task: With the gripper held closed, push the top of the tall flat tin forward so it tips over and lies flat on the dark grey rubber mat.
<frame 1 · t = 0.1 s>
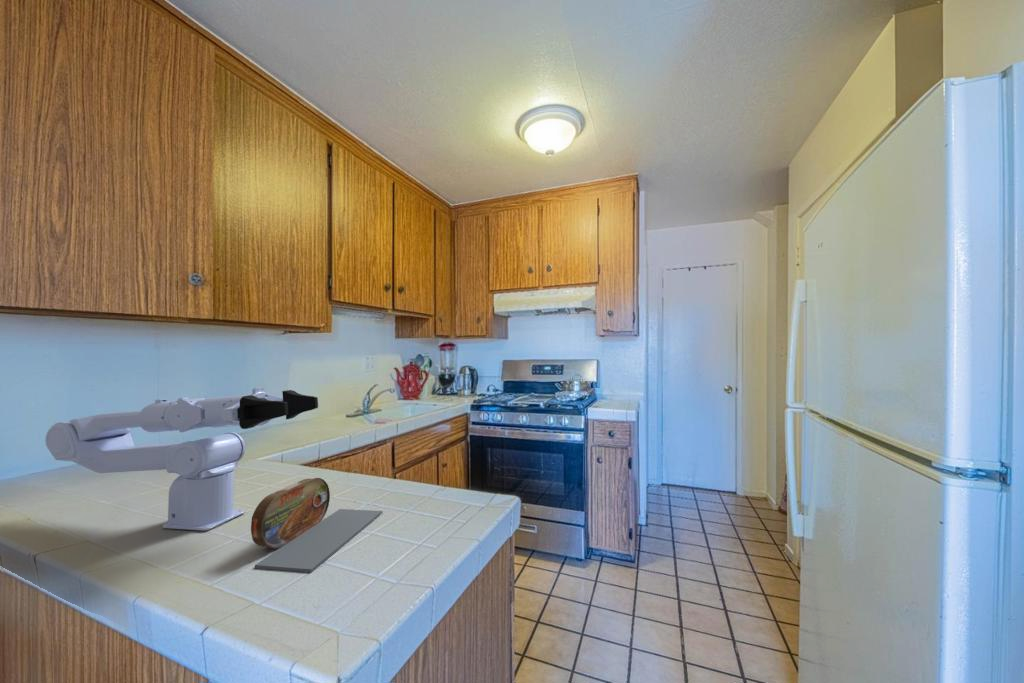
hand: (302, 405, 67), 22 cm above the table, tool horizontal, fingers open, 7 cm apart
tin: (293, 536, 63), on the table
rubber mat: (328, 536, 62), on the table
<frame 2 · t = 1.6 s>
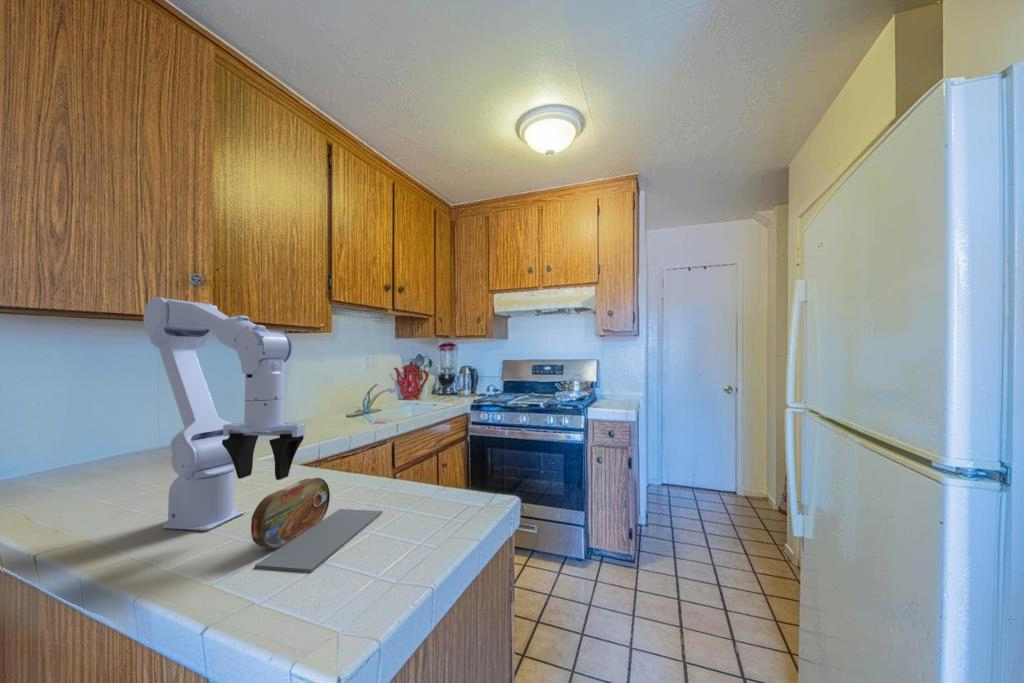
hand: (263, 477, 64), 9 cm above the table, tool pointing down, fingers open, 7 cm apart
nothing on the table moved.
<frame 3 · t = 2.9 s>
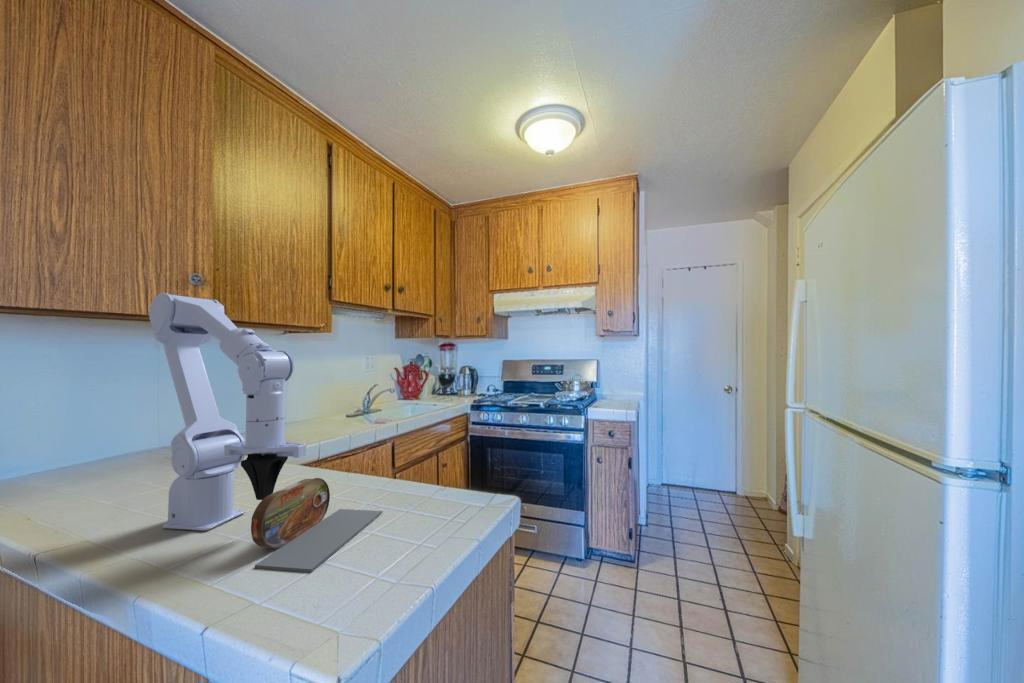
hand: (264, 497, 64), 6 cm above the table, tool pointing down, fingers closed
nothing on the table moved.
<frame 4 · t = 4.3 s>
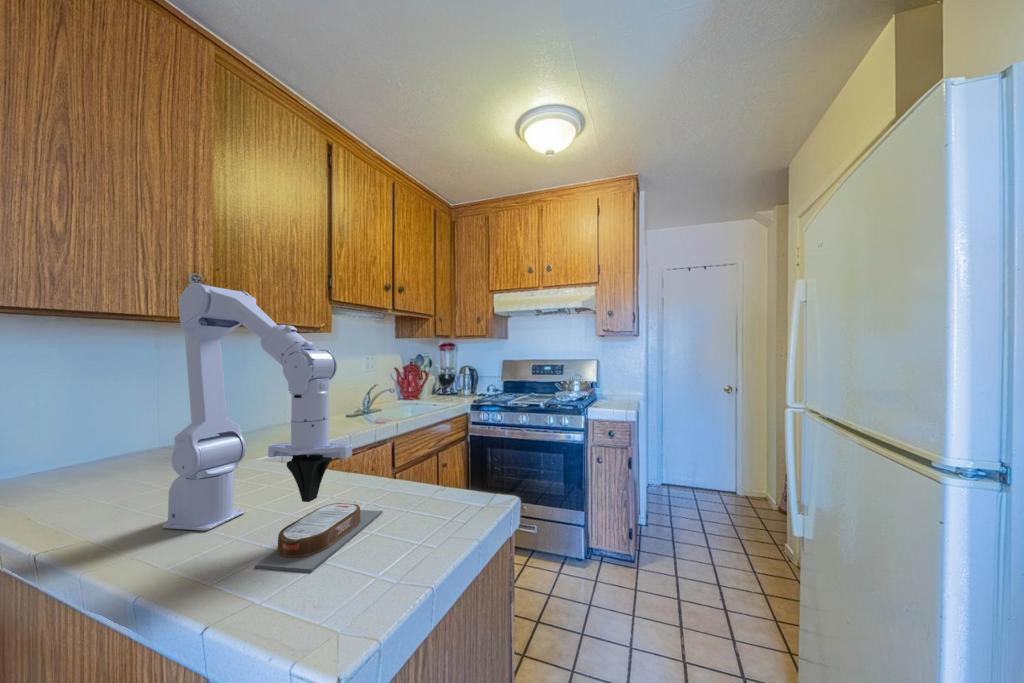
hand: (309, 499, 63), 6 cm above the table, tool pointing down, fingers closed
tin: (299, 523, 63), point 2 cm above the table, touching rubber mat
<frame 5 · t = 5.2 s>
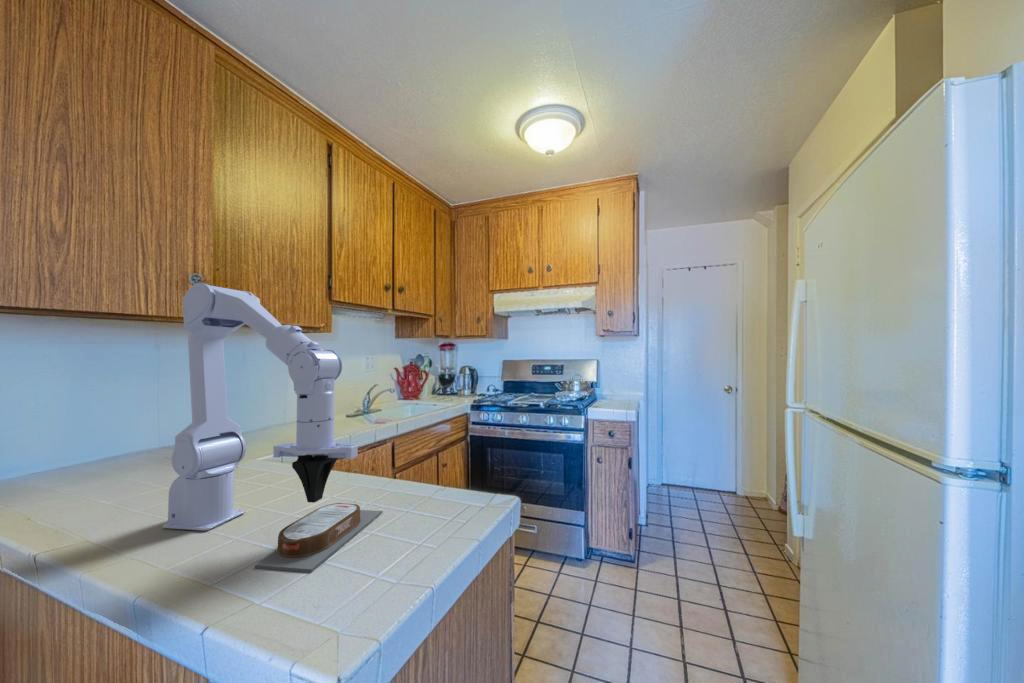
hand: (314, 500, 63), 6 cm above the table, tool pointing down, fingers closed
nothing on the table moved.
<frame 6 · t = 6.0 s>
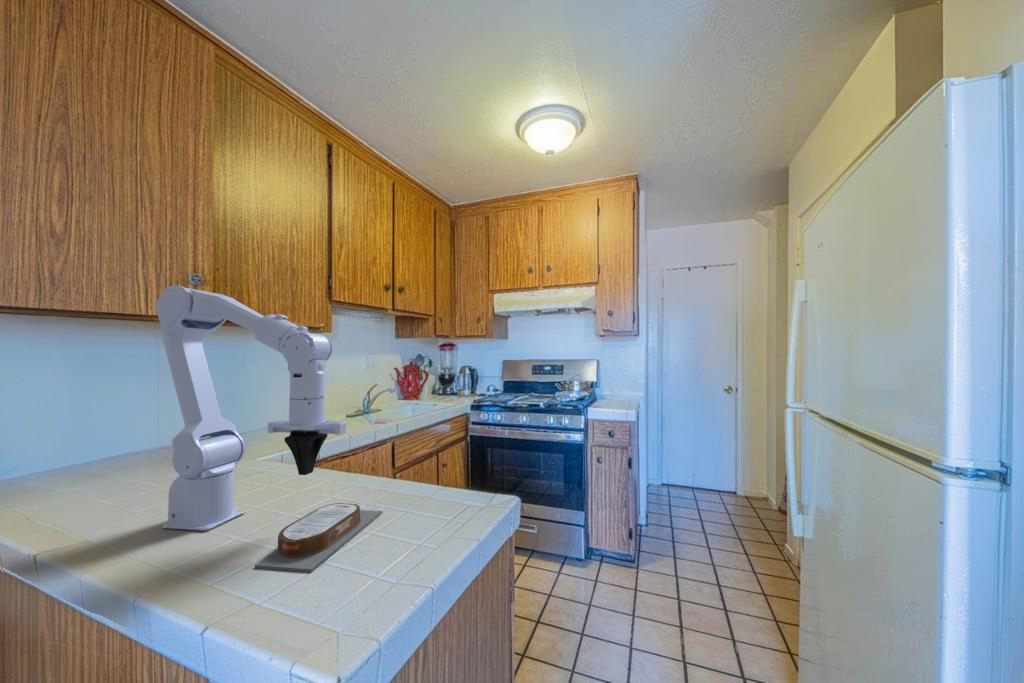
hand: (306, 473, 67), 9 cm above the table, tool pointing down, fingers closed
nothing on the table moved.
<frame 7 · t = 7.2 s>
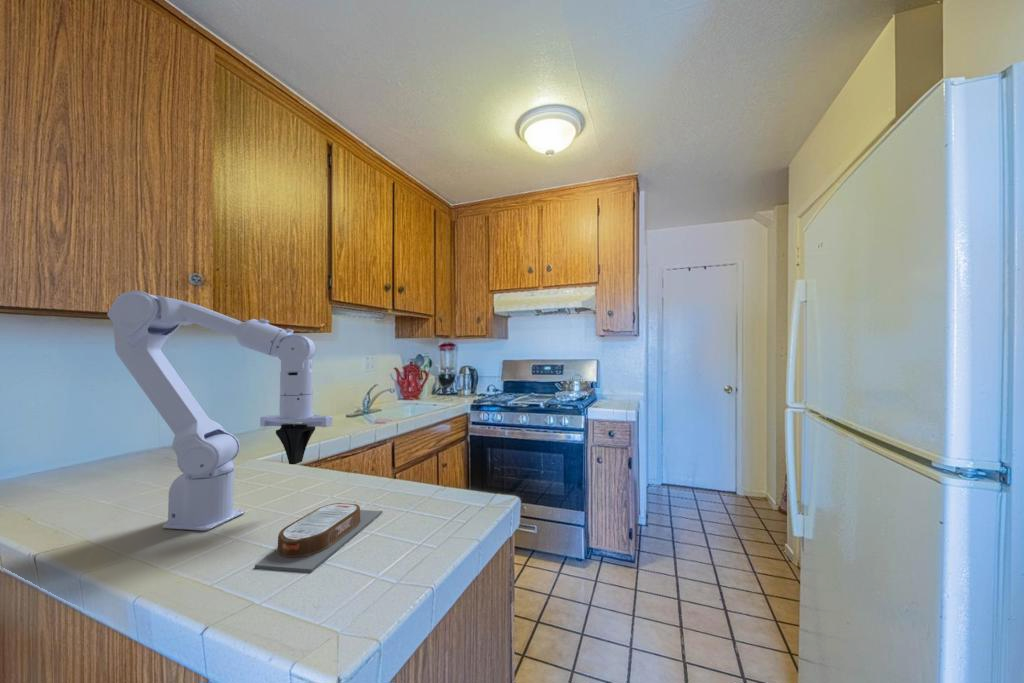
hand: (295, 462, 73), 9 cm above the table, tool pointing down, fingers closed
nothing on the table moved.
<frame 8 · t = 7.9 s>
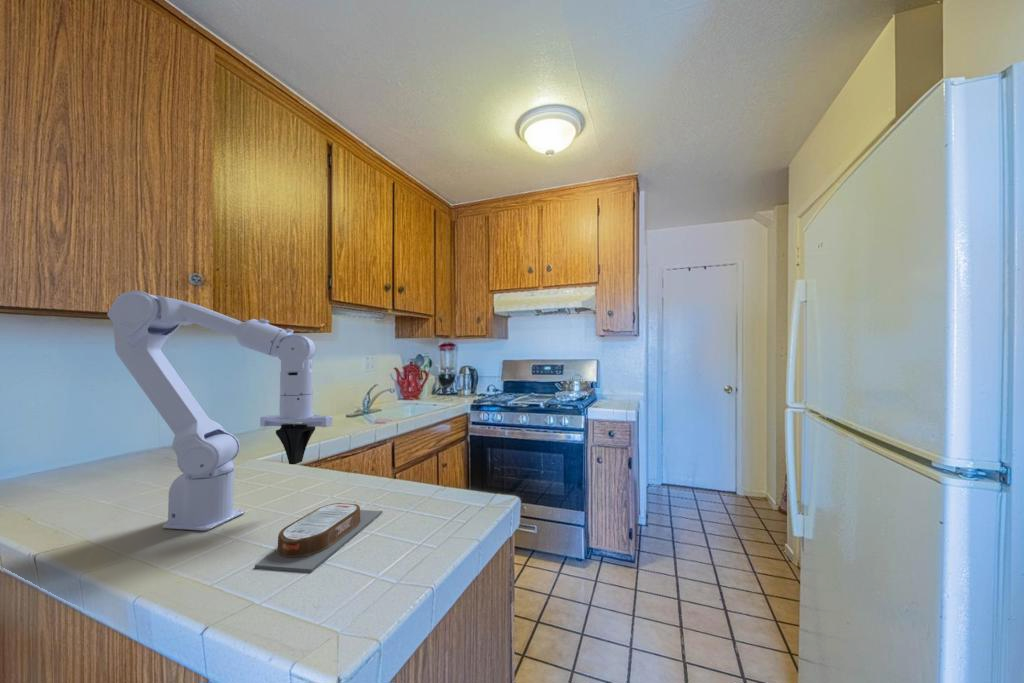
hand: (295, 462, 73), 9 cm above the table, tool pointing down, fingers closed
nothing on the table moved.
at the end: tin tilted 94°; tin touching rubber mat; tin inside the target area (1.3 cm from its centre), point 2.0 cm above the table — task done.
